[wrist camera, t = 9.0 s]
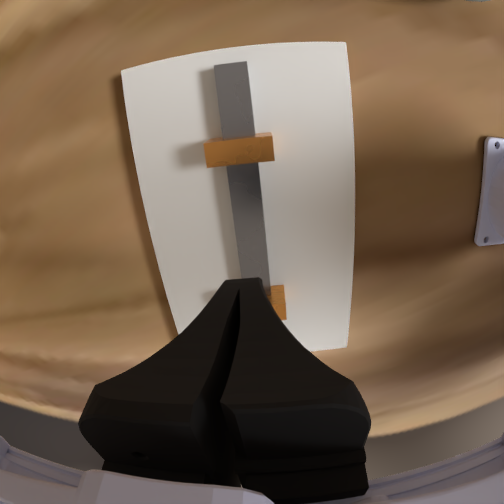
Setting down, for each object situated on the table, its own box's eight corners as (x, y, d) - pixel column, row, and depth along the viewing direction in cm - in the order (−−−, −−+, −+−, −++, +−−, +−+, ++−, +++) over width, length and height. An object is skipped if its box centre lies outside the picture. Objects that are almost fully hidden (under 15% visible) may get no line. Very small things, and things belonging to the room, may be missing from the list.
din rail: (263, 61, 14) (263, 56, 12) (287, 343, 22) (288, 363, 20) (200, 69, 14) (193, 65, 12) (242, 346, 22) (240, 366, 20)
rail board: (340, 45, 14) (346, 42, 13) (343, 336, 23) (346, 347, 22) (129, 71, 15) (121, 70, 14) (188, 347, 24) (186, 357, 23)
